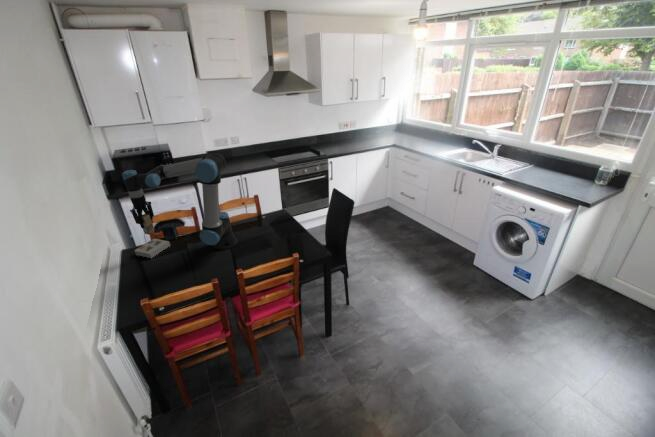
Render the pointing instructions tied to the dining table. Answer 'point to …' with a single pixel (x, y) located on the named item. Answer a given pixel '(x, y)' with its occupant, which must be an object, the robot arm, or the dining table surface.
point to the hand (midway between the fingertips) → (149, 230)
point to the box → (169, 231)
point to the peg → (148, 224)
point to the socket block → (152, 248)
